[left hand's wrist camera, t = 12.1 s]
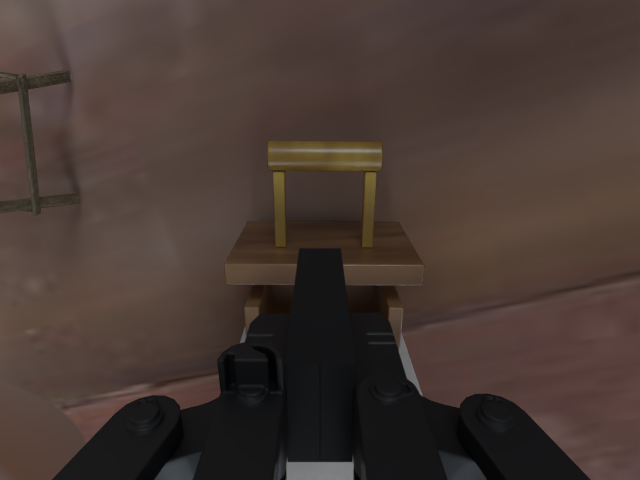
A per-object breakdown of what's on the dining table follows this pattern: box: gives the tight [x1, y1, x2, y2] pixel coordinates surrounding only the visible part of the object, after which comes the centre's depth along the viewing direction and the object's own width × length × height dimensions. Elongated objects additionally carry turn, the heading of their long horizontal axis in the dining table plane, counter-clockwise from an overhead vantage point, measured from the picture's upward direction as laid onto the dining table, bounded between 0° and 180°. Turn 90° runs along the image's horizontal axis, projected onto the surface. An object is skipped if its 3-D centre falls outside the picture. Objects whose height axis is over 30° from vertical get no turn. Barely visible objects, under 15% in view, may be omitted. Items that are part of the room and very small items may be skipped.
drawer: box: [224, 141, 424, 354], centre depth 26 cm, size 24×10×7 cm, turn 0°
